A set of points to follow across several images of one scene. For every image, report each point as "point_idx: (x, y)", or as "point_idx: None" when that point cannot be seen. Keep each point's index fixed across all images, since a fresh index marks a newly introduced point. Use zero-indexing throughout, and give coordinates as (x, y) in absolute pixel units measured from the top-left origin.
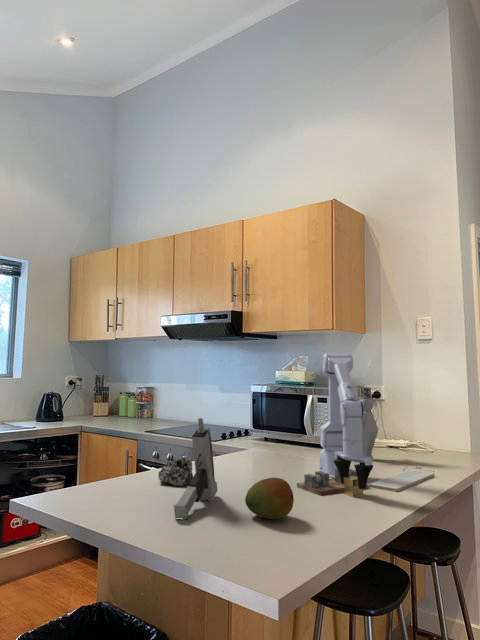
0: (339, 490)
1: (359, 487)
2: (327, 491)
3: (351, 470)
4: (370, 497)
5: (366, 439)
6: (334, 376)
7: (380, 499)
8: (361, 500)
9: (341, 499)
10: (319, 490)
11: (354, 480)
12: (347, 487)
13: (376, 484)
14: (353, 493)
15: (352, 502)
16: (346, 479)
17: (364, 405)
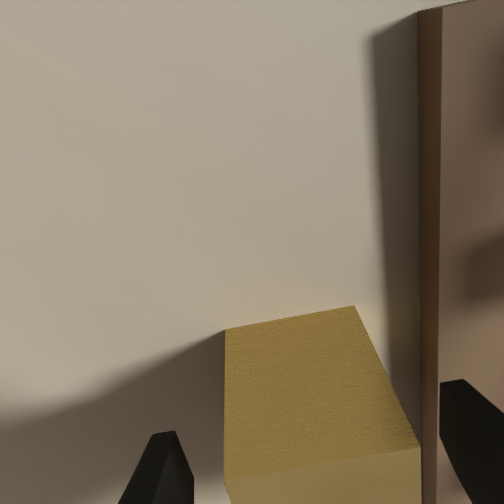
0: (429, 304)
1: (154, 445)
2: (432, 146)
3: None
4: (179, 440)
5: None
6: None
7: (107, 471)
8: (97, 345)
9: (168, 187)
10: (481, 23)
11: (232, 491)
12: (313, 368)
13: None
14: (225, 357)
15: (31, 239)
16: (352, 441)
17: None
